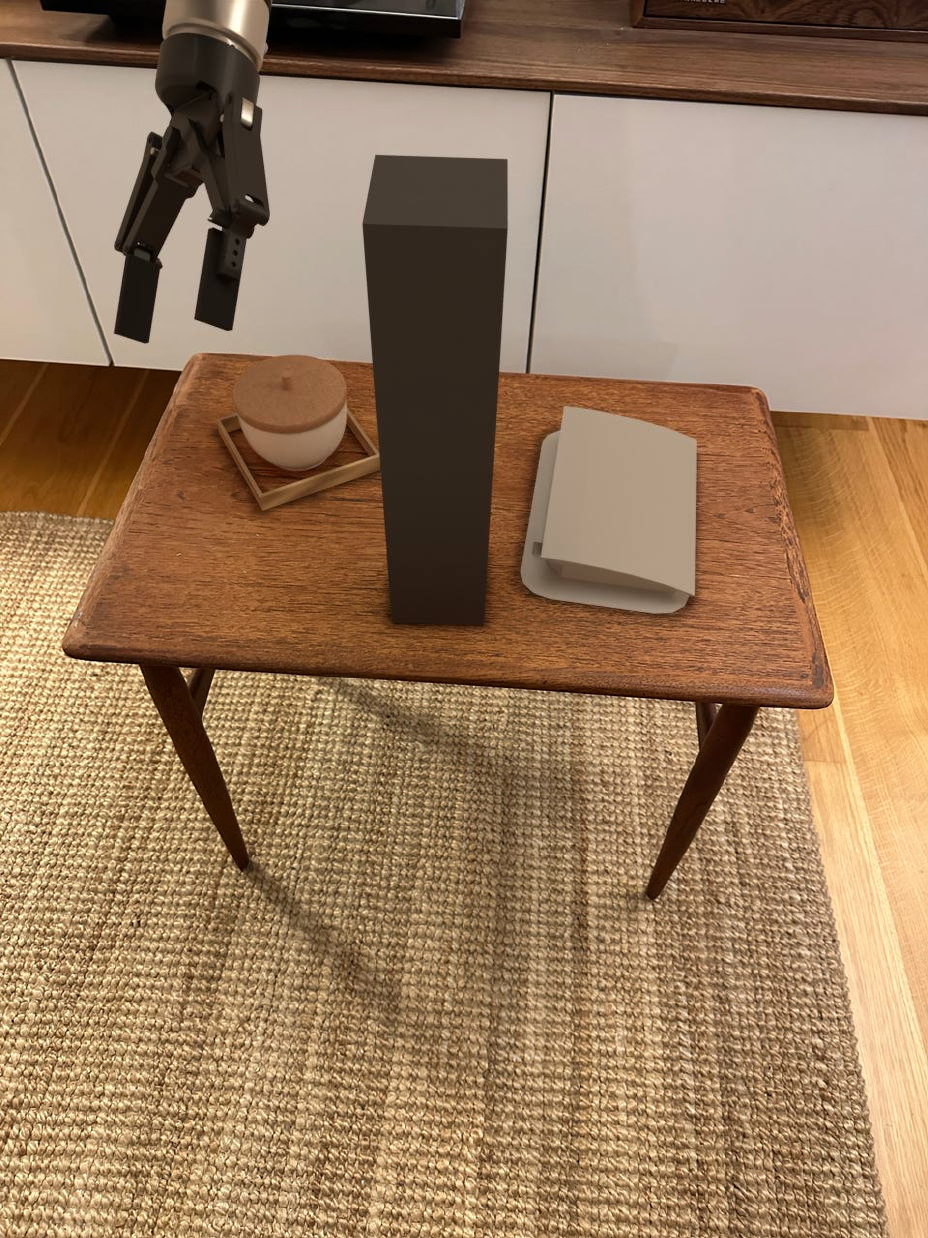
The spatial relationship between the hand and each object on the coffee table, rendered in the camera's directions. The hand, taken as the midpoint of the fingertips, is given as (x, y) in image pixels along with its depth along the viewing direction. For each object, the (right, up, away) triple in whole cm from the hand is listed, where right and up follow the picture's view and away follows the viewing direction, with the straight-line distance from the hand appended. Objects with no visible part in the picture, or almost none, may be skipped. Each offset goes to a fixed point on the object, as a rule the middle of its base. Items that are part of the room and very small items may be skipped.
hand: (169, 332), depth 70 cm
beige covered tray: (+37, -12, +16) cm, 42 cm away
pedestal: (+21, -20, +10) cm, 30 cm away
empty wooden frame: (+6, -5, +21) cm, 22 cm away
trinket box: (+6, -5, +21) cm, 23 cm away
